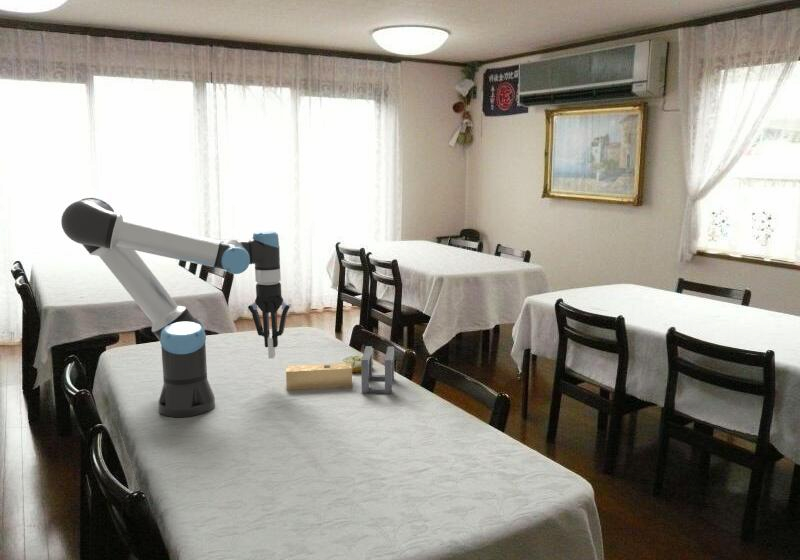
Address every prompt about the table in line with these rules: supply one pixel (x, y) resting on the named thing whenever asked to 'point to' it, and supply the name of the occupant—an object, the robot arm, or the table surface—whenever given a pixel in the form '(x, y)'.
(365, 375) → the grey cradle stand
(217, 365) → the table surface
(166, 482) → the table surface
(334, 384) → the tan wooden brick
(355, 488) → the table surface
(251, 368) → the table surface
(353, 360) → the decorated donut
